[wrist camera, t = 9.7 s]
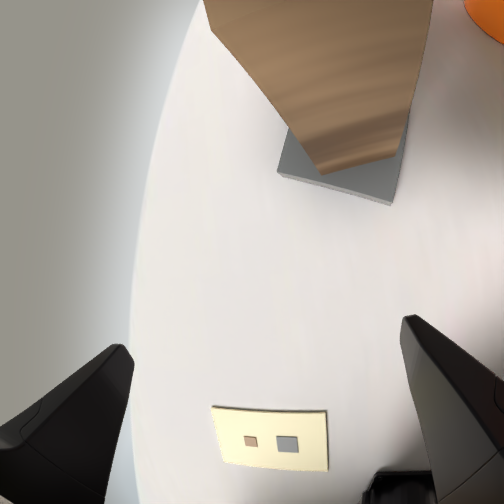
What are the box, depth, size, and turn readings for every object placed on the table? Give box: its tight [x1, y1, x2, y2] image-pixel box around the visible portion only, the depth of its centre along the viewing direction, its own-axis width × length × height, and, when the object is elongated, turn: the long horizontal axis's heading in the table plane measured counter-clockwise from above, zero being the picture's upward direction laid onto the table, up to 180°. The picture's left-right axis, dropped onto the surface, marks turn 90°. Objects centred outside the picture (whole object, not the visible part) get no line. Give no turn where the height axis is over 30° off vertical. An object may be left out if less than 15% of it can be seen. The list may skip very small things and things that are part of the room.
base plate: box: [277, 110, 410, 206], centre depth 16 cm, size 7×7×2 cm
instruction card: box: [211, 407, 328, 472], centre depth 19 cm, size 9×6×1 cm, turn 99°
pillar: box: [203, 0, 433, 176], centre depth 10 cm, size 4×4×13 cm
